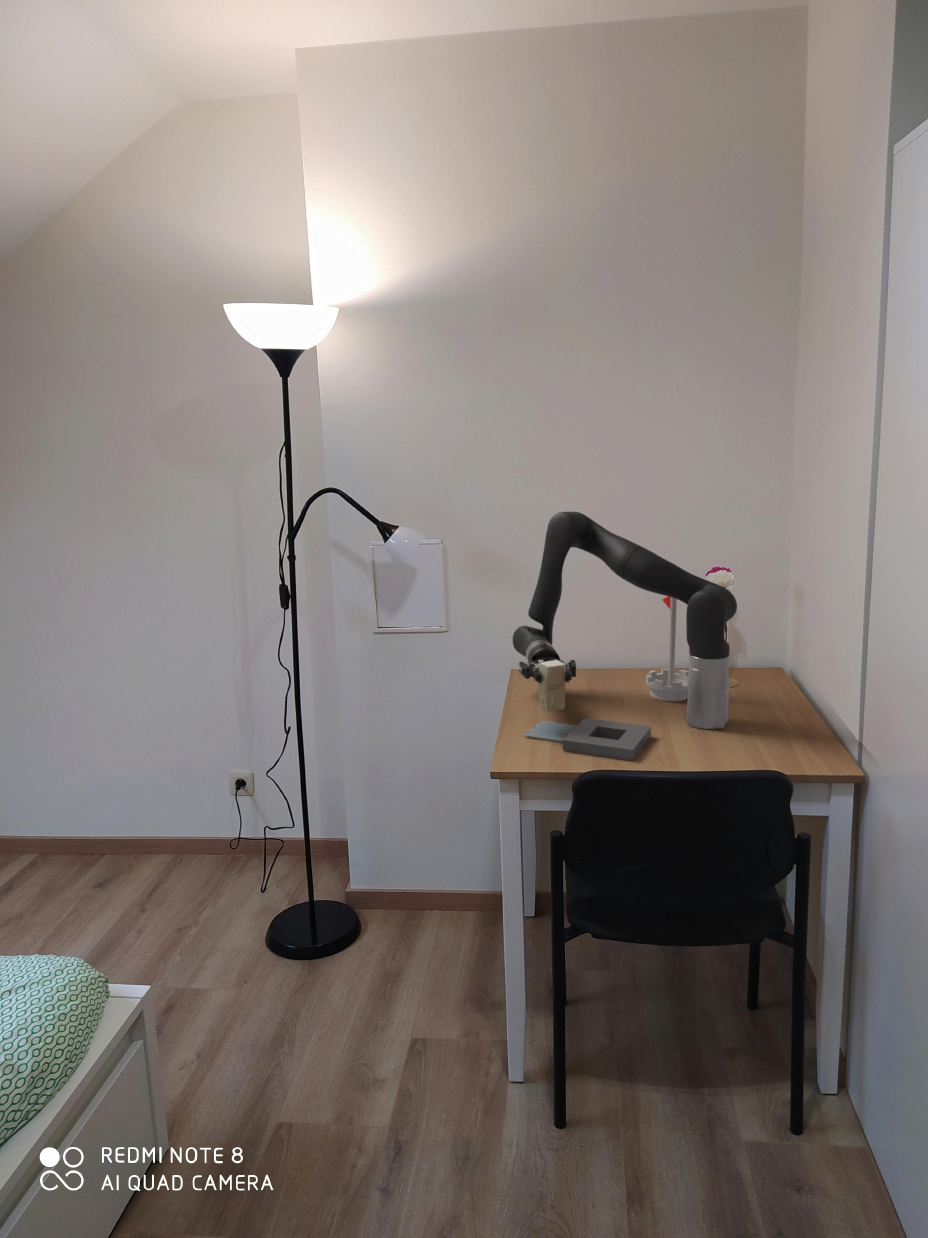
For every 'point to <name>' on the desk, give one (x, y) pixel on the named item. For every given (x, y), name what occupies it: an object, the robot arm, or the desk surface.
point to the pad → (551, 731)
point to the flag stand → (667, 681)
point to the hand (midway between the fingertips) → (554, 678)
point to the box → (552, 685)
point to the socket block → (589, 743)
